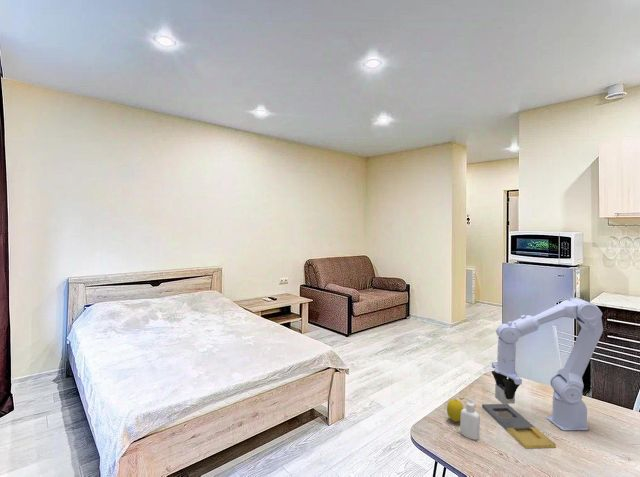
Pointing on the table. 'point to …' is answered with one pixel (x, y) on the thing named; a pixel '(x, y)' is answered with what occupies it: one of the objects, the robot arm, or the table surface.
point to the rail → (519, 427)
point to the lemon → (454, 409)
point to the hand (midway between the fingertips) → (505, 395)
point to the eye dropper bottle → (470, 421)
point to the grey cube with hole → (502, 394)
